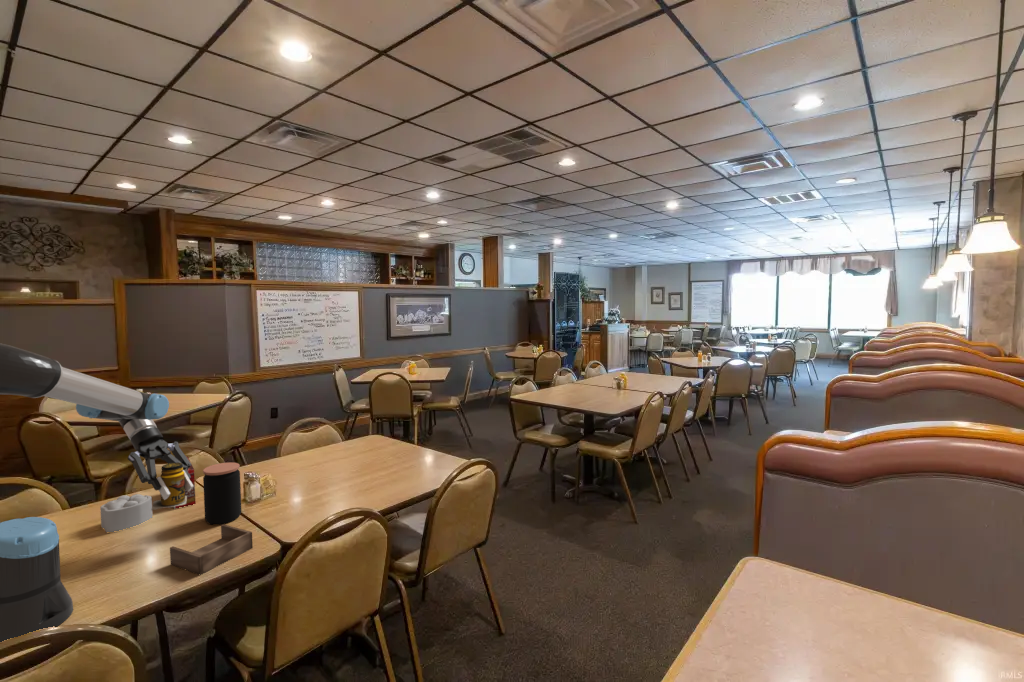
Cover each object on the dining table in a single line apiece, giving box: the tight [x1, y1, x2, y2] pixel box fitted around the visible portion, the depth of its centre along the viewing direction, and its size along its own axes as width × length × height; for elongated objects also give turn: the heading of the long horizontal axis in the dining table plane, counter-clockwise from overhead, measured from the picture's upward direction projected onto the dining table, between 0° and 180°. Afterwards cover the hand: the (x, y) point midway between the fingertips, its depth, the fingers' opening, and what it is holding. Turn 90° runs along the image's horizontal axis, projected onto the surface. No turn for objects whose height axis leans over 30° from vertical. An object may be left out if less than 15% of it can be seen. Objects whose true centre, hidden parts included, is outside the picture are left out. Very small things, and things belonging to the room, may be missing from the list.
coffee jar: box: [202, 461, 242, 525], centre depth 159 cm, size 11×11×18 cm
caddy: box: [169, 523, 254, 576], centre depth 135 cm, size 16×13×5 cm
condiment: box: [151, 462, 187, 511], centre depth 142 cm, size 7×8×12 cm
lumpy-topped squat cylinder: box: [100, 493, 153, 533], centre depth 156 cm, size 10×13×9 cm
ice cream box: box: [173, 455, 197, 510], centre depth 176 cm, size 20×6×13 cm, turn 40°
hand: (179, 492), depth 141 cm, fingers closed on condiment, 6 cm apart
